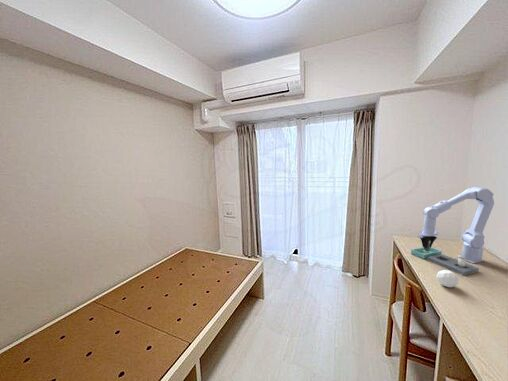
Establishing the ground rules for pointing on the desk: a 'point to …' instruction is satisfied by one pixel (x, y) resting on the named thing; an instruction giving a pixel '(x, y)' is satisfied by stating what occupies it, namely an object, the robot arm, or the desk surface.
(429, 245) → the led light bulb
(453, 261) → the fuse block
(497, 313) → the desk surface
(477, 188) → the robot arm
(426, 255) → the tray
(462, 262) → the fuse
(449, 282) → the geometric ball
